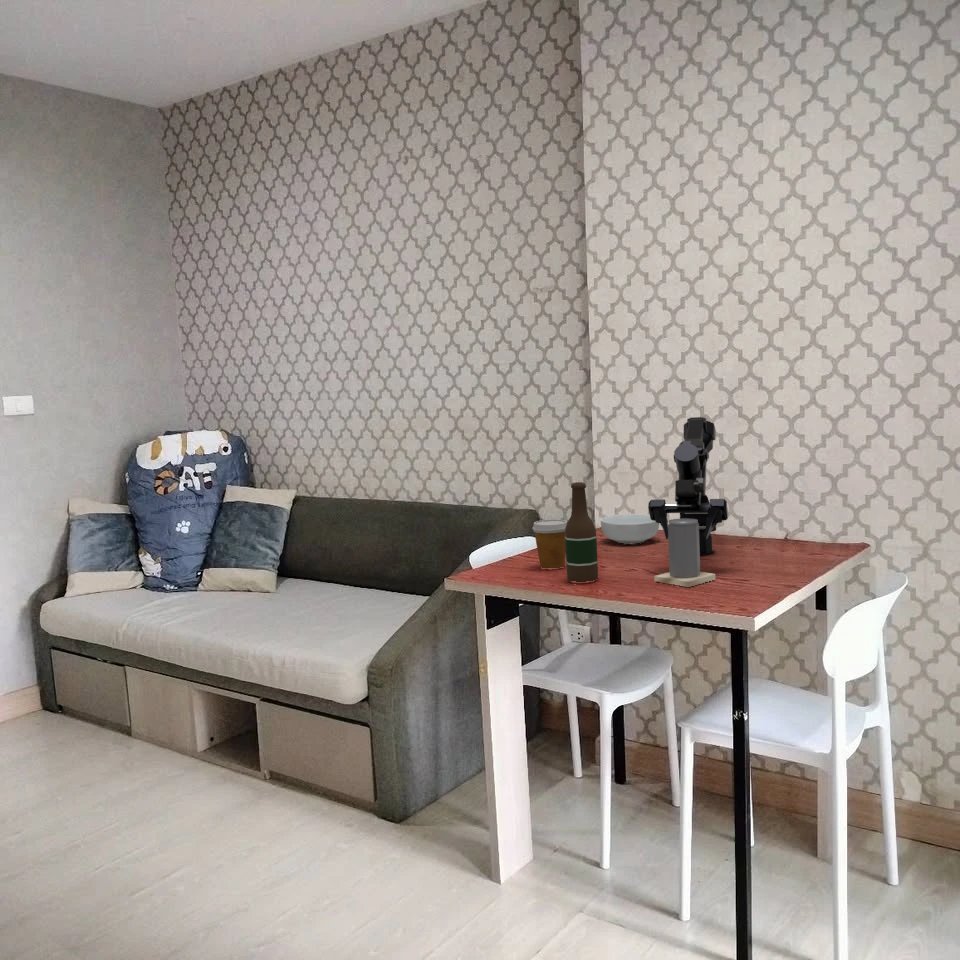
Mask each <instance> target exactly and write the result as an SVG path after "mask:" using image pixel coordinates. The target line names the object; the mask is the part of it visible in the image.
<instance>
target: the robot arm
mask: <svg viewBox="0 0 960 960" xmlns="http://www.w3.org/2000/svg"><path fill="white" fill-rule="evenodd" d="M716 432H717V431H716V425H715V423H714V422H712V421H709V420H707V417H704V416H695V417H688V418H687V419H686V422H685V423H684V424H683V439H684V440H683V441H681V442H680V443H679V445H678V446H677V447H676V448H675V449H674V451H673V453H674V454H673V461H674V463H675V465H676V471H677V473H678V479H676V480H675V489H674V490H675V491H674V493H675V494H674V501H675V502H676V504H666V503H667V501H666V499H662V498H661V499H650V500H649V501H648V505H647V509H648V513H649V514H648V515H650V518H651V520H653V521H656V523H659V525H660V526H661V528H662V530H663V534H664V536H665V539H666V540H669V538H668V524H669V520H668V514H679V519H681V518H690V519H697V520H698V523H699V546H700V557H701V556H705V555H709V554H712V553H716V552H715V551H716V550H715V549H713V536H712V533H713V532H715V531H717V525H718V524H721V523H722V522H723V521H727V520H729V519H728V516H729V513H728V512H729V510H728V501H727V500H726V499H725V498H710V499H709V497H708V495H706V487H707V486H706V485H707V481H706V480H707V462H708V460H709V458H710V452H711V451H712V450H713V448H714V441H716V436H717V435H716V434H717V433H716Z"/></svg>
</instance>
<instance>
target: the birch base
mask: <svg viewBox="0 0 960 960" xmlns="http://www.w3.org/2000/svg"><path fill="white" fill-rule="evenodd" d="M653 577H654V578H653V579H654V582H655V581H659V582H665V583H669V584H675V585H680V586H686V587H690V586H694V585H697V584H701V585H703V584H702V583H704V584H706V583H705V582H708V583H710V582H709V581H711V582H713V581H712V580H715V581H716V574H715V573H711V572H705V571H700V575H699V576H698V577H693V578H675V577H672V576H670V571H669V572H664V573H660V574H657V575H654V576H653ZM694 587H695V586H694Z"/></svg>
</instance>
